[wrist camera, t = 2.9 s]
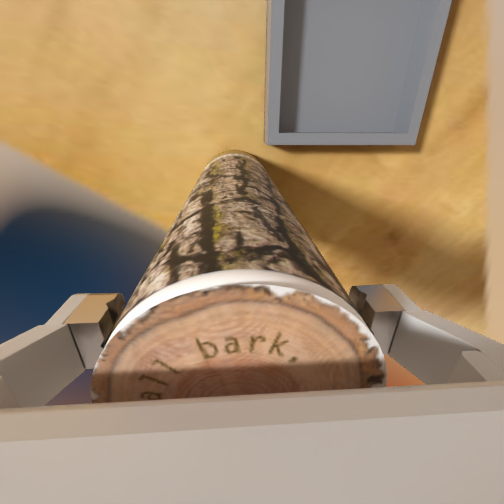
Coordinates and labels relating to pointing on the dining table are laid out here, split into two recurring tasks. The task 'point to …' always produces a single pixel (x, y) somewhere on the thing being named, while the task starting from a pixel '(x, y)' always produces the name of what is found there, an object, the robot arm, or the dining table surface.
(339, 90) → the tray
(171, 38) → the dining table surface
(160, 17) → the dining table surface
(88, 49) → the dining table surface
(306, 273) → the paper tube
